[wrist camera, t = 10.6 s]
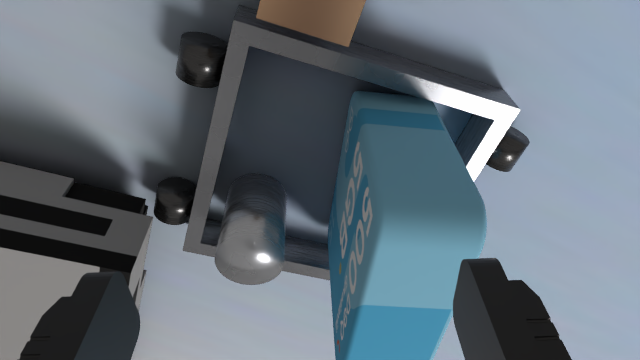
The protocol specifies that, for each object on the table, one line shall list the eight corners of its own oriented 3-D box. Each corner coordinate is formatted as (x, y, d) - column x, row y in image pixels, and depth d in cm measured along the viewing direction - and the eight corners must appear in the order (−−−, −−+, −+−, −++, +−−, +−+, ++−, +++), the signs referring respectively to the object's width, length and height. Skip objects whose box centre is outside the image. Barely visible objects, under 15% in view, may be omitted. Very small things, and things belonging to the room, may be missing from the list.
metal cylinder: (234, 167, 30) (222, 229, 25) (293, 181, 31) (292, 244, 26) (222, 212, 32) (208, 277, 28) (278, 224, 33) (274, 290, 28)
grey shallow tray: (538, 101, 28) (557, 121, 26) (422, 275, 37) (430, 300, 35) (192, -10, 24) (182, 3, 22) (155, 218, 32) (145, 243, 30)
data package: (352, 80, 27) (382, 214, 17) (427, 88, 27) (497, 222, 18) (326, 232, 34) (336, 389, 24) (386, 236, 34) (420, 391, 25)
